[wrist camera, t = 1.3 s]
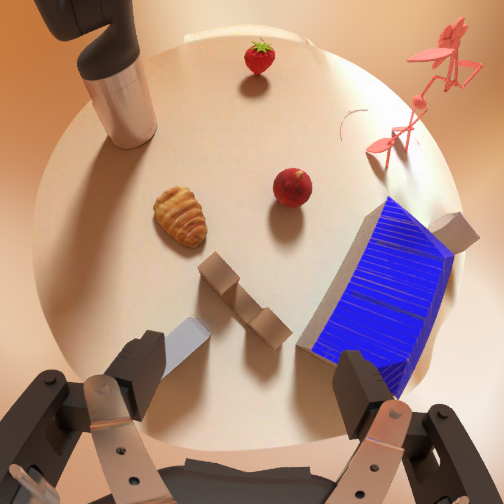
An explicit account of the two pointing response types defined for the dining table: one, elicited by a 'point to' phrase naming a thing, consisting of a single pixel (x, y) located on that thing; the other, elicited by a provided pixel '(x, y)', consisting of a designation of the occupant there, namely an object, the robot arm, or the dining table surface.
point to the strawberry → (259, 57)
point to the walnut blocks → (243, 301)
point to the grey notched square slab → (184, 342)
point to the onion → (292, 187)
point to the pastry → (181, 216)
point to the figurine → (445, 49)
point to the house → (383, 296)
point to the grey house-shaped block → (454, 232)
